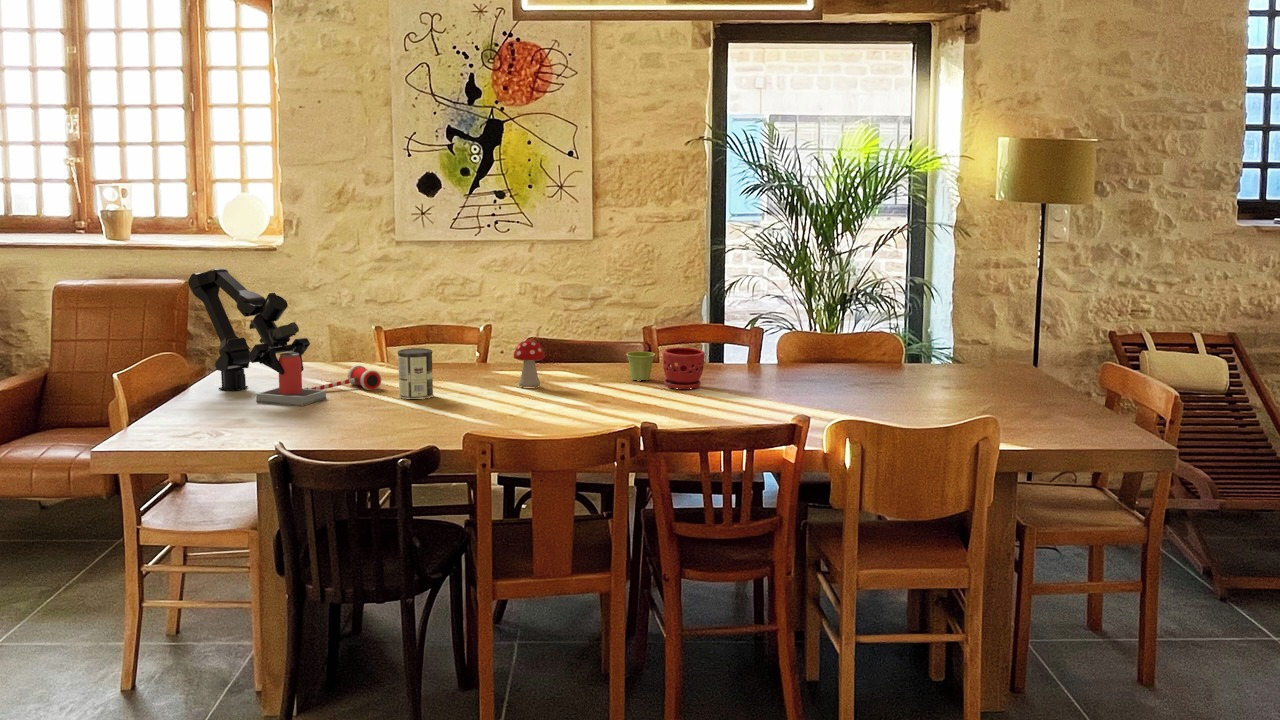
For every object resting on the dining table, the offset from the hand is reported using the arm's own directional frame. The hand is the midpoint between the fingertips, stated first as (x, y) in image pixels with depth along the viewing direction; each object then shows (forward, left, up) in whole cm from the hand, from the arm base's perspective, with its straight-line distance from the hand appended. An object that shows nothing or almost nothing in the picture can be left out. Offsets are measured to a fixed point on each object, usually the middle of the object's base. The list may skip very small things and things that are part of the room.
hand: (293, 372), depth 377 cm
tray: (-1, 0, -9) cm, 9 cm away
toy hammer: (+4, +22, -9) cm, 24 cm away
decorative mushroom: (+55, +46, -9) cm, 72 cm away
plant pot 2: (+100, +64, -9) cm, 119 cm away
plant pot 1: (+83, +71, -9) cm, 110 cm away
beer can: (-1, 0, -7) cm, 7 cm away
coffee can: (+30, +19, -9) cm, 37 cm away
